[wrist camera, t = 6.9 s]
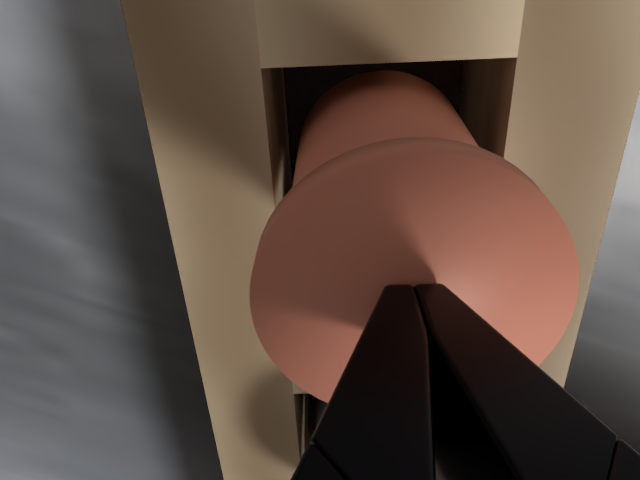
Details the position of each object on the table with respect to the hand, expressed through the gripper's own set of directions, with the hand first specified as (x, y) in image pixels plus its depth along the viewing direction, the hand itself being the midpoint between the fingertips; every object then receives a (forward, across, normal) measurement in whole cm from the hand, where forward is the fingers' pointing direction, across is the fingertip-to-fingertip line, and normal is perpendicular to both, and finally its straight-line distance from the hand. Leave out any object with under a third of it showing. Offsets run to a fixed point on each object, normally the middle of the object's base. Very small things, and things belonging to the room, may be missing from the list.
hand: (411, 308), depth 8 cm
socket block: (+9, 0, +9) cm, 13 cm away
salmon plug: (+6, 0, 0) cm, 6 cm away
